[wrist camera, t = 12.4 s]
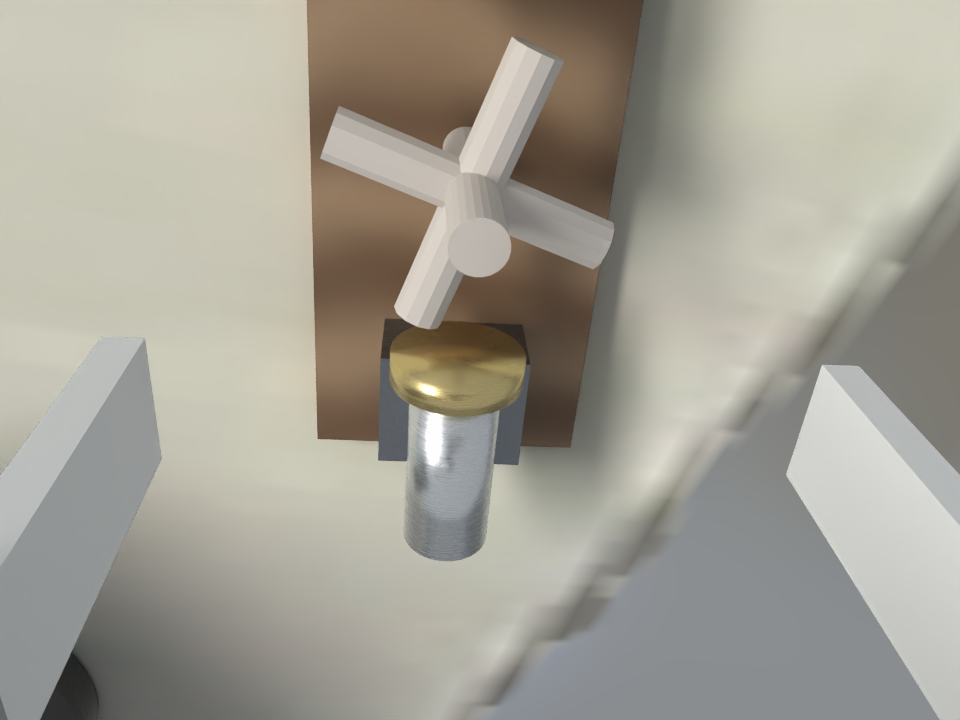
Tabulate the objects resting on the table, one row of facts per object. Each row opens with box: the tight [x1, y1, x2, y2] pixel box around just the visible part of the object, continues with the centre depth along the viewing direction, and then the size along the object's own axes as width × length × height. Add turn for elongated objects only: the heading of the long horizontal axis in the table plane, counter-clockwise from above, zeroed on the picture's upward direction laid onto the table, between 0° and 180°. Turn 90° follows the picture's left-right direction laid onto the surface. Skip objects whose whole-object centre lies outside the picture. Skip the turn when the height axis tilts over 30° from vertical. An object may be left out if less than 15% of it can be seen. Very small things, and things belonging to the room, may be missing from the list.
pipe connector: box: [320, 36, 614, 329], centre depth 27 cm, size 10×10×10 cm
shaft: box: [378, 318, 531, 561], centre depth 34 cm, size 9×6×7 cm, turn 176°
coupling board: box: [307, 0, 643, 447], centre depth 32 cm, size 28×12×2 cm, turn 176°
